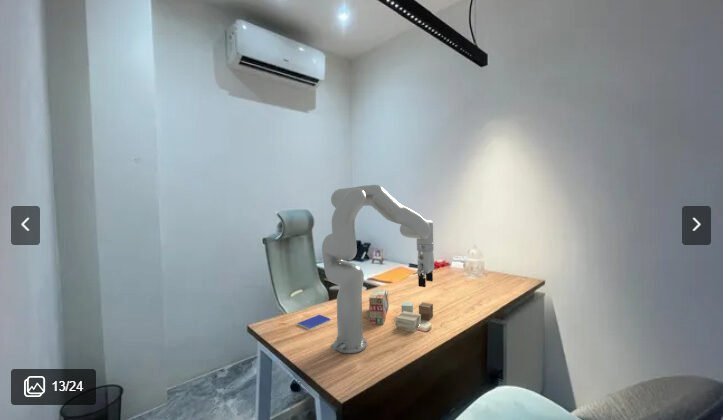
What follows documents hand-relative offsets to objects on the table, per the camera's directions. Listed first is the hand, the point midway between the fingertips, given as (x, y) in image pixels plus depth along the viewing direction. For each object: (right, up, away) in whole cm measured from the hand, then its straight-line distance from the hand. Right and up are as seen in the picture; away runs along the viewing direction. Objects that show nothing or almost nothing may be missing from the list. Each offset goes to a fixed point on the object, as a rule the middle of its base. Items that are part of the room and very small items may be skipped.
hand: (425, 283), depth 138 cm
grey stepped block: (-9, -17, -9) cm, 21 cm away
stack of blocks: (-21, -16, +5) cm, 27 cm away
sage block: (-8, -16, +2) cm, 18 cm away
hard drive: (-51, -18, -2) cm, 54 cm away
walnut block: (0, -16, +1) cm, 16 cm away
